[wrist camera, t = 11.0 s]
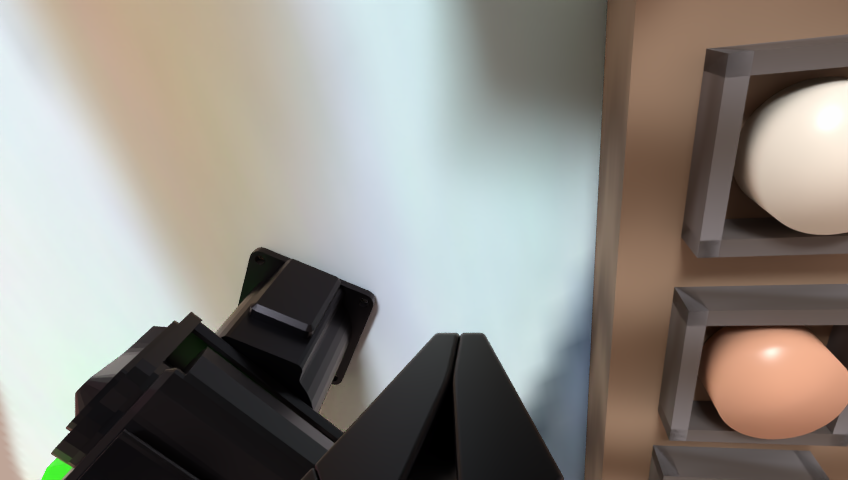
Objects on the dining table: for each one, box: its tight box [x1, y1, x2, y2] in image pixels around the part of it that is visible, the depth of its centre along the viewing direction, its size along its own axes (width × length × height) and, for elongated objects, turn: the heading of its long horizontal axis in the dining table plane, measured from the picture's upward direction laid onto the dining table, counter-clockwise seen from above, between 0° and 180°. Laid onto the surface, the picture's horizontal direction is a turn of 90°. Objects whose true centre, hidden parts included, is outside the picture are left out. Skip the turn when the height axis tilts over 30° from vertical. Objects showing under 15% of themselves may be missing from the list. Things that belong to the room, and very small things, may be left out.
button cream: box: [733, 76, 848, 235], centre depth 13 cm, size 4×4×2 cm
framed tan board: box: [584, 0, 848, 480], centre depth 19 cm, size 26×10×6 cm, turn 6°
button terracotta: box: [698, 325, 848, 439], centre depth 17 cm, size 4×4×2 cm
